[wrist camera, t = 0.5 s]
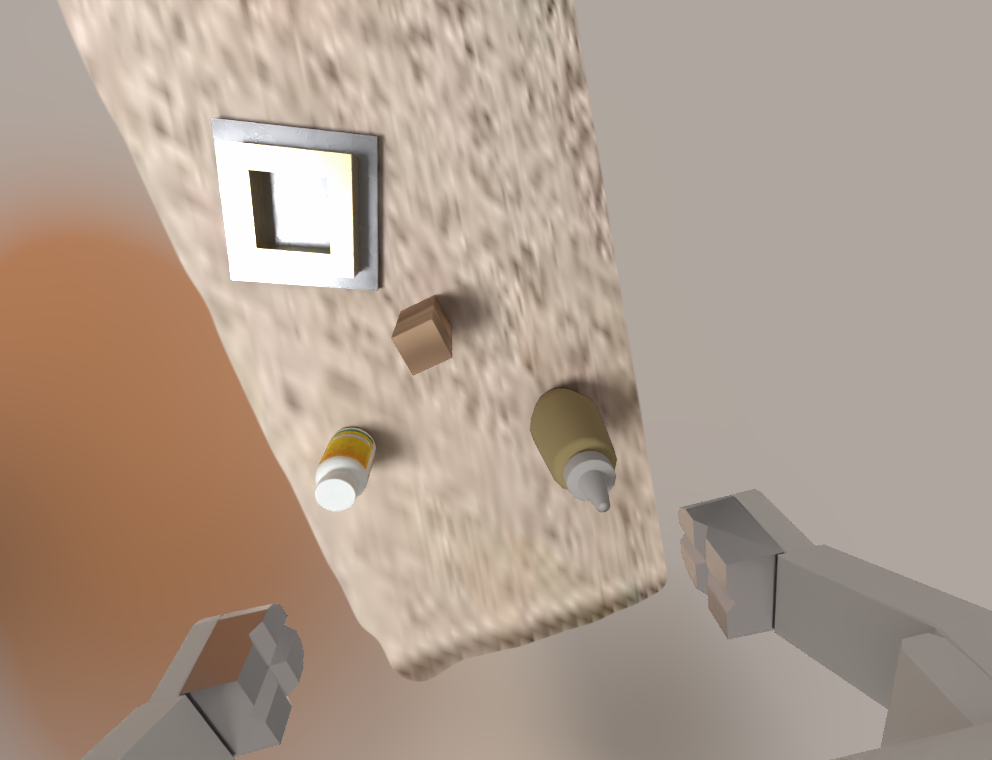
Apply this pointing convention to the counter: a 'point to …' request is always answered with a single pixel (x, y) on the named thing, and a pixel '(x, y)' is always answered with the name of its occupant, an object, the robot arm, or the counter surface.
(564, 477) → the squeeze bottle
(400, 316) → the peg
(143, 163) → the counter surface
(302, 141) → the collar
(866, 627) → the robot arm
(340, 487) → the supplement bottle
